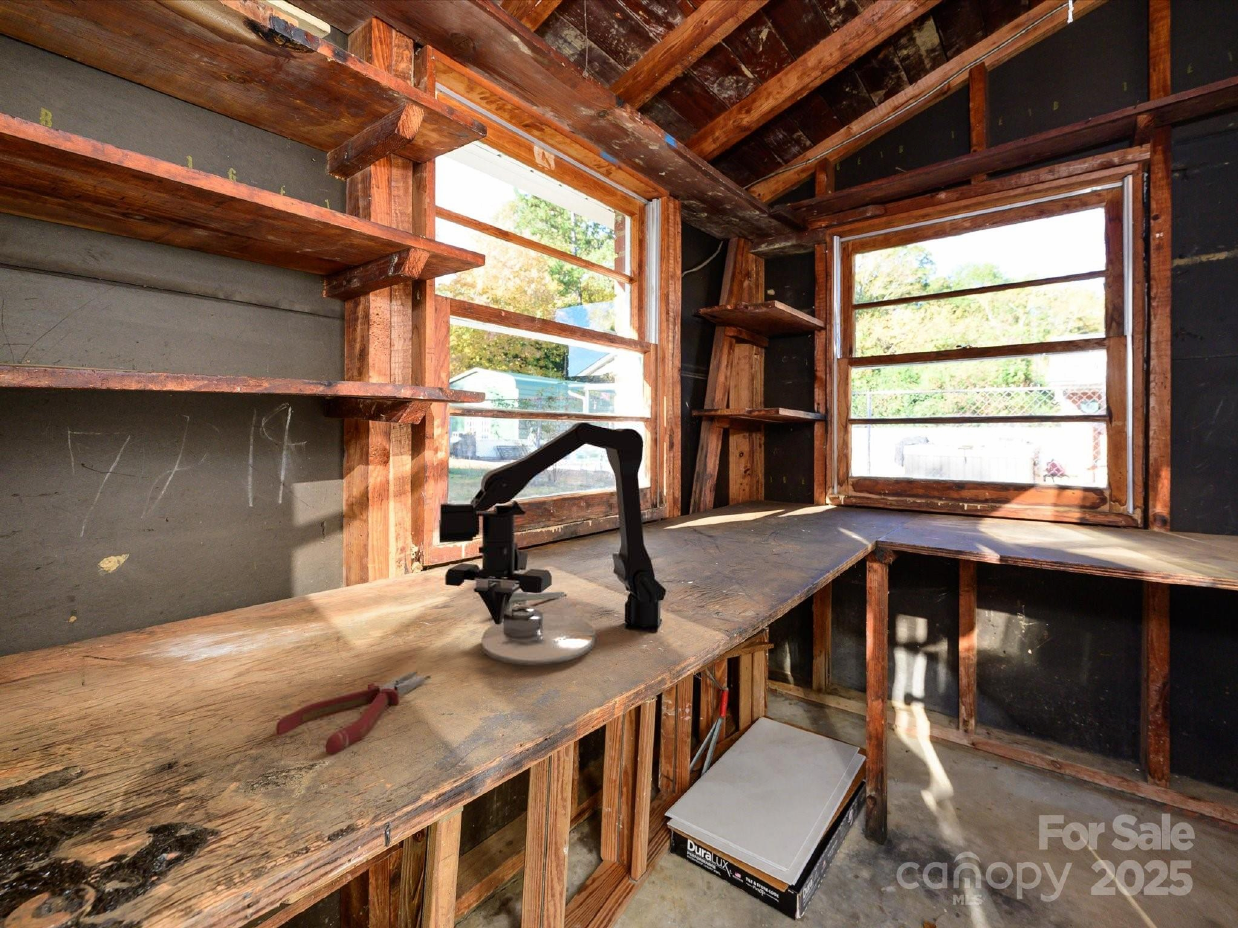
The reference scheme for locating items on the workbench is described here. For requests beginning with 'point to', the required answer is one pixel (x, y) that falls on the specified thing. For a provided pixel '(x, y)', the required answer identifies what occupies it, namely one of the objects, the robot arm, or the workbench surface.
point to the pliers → (366, 722)
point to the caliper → (532, 597)
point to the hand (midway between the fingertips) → (498, 623)
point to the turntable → (541, 642)
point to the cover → (523, 622)
